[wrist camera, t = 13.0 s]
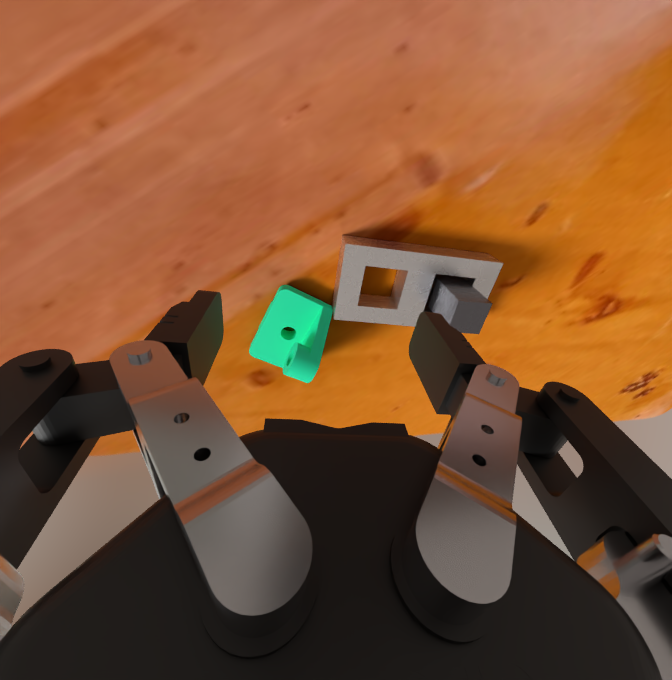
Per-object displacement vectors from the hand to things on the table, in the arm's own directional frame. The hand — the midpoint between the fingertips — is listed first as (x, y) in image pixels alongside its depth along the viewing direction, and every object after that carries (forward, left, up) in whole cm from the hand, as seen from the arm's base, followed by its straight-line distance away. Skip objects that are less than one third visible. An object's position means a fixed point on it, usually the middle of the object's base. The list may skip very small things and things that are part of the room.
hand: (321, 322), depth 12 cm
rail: (+8, +14, -28) cm, 32 cm away
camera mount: (+17, -2, -28) cm, 33 cm away
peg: (+8, +18, -28) cm, 35 cm away
